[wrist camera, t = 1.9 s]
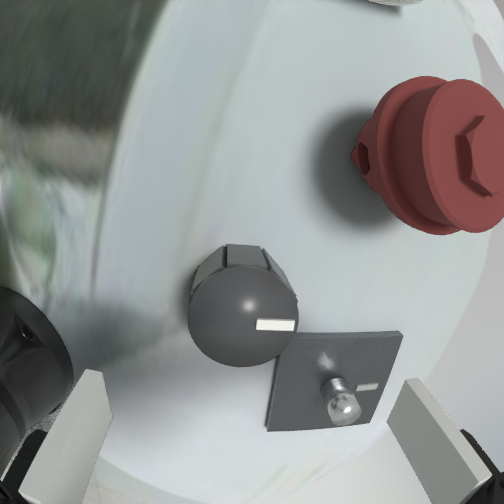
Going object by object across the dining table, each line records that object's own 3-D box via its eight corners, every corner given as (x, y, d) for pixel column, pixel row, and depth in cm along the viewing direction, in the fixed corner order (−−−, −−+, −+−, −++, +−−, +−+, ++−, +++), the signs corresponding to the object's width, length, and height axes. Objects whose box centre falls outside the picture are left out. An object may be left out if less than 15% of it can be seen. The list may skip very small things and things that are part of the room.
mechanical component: (389, 78, 21) (447, 171, 24) (305, 141, 22) (375, 238, 25) (487, 36, 9) (550, 184, 12) (380, 117, 10) (471, 292, 13)
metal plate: (266, 425, 29) (271, 459, 24) (282, 332, 26) (293, 365, 21) (366, 417, 30) (381, 446, 26) (398, 330, 27) (423, 356, 23)
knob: (195, 322, 25) (187, 365, 19) (198, 241, 24) (188, 266, 18) (277, 327, 26) (290, 369, 20) (287, 248, 24) (307, 274, 18)
